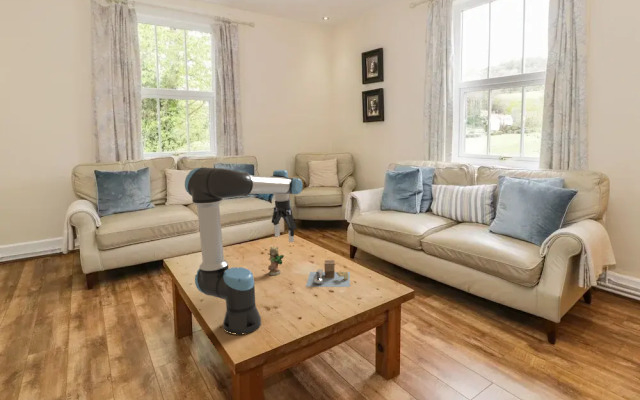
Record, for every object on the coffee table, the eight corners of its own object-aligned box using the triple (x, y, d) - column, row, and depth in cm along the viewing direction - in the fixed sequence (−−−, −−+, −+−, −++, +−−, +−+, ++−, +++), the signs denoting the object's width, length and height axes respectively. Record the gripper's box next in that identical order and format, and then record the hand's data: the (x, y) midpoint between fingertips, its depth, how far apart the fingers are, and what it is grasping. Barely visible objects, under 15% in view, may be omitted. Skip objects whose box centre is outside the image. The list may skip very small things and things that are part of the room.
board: (349, 288, 184) (349, 275, 182) (305, 288, 186) (305, 274, 184) (349, 273, 202) (349, 261, 201) (310, 273, 204) (309, 261, 203)
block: (334, 277, 195) (333, 263, 194) (324, 277, 196) (324, 263, 194) (334, 274, 200) (334, 260, 198) (325, 274, 200) (325, 260, 199)
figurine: (265, 274, 205) (263, 248, 202) (273, 269, 211) (271, 244, 208) (279, 277, 200) (277, 250, 198) (286, 272, 207) (285, 246, 204)
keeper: (349, 282, 191) (349, 273, 190) (339, 283, 190) (339, 275, 189) (346, 278, 196) (345, 270, 195) (336, 280, 194) (336, 271, 193)
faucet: (322, 284, 186) (322, 280, 186) (313, 284, 187) (313, 280, 186) (324, 272, 201) (324, 269, 201) (316, 272, 202) (316, 269, 201)
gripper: (302, 202, 184) (303, 242, 189) (275, 195, 204) (277, 232, 208) (289, 204, 180) (291, 246, 184) (263, 197, 199) (266, 235, 203)
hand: (284, 239), depth 196 cm, fingers open, 13 cm apart
